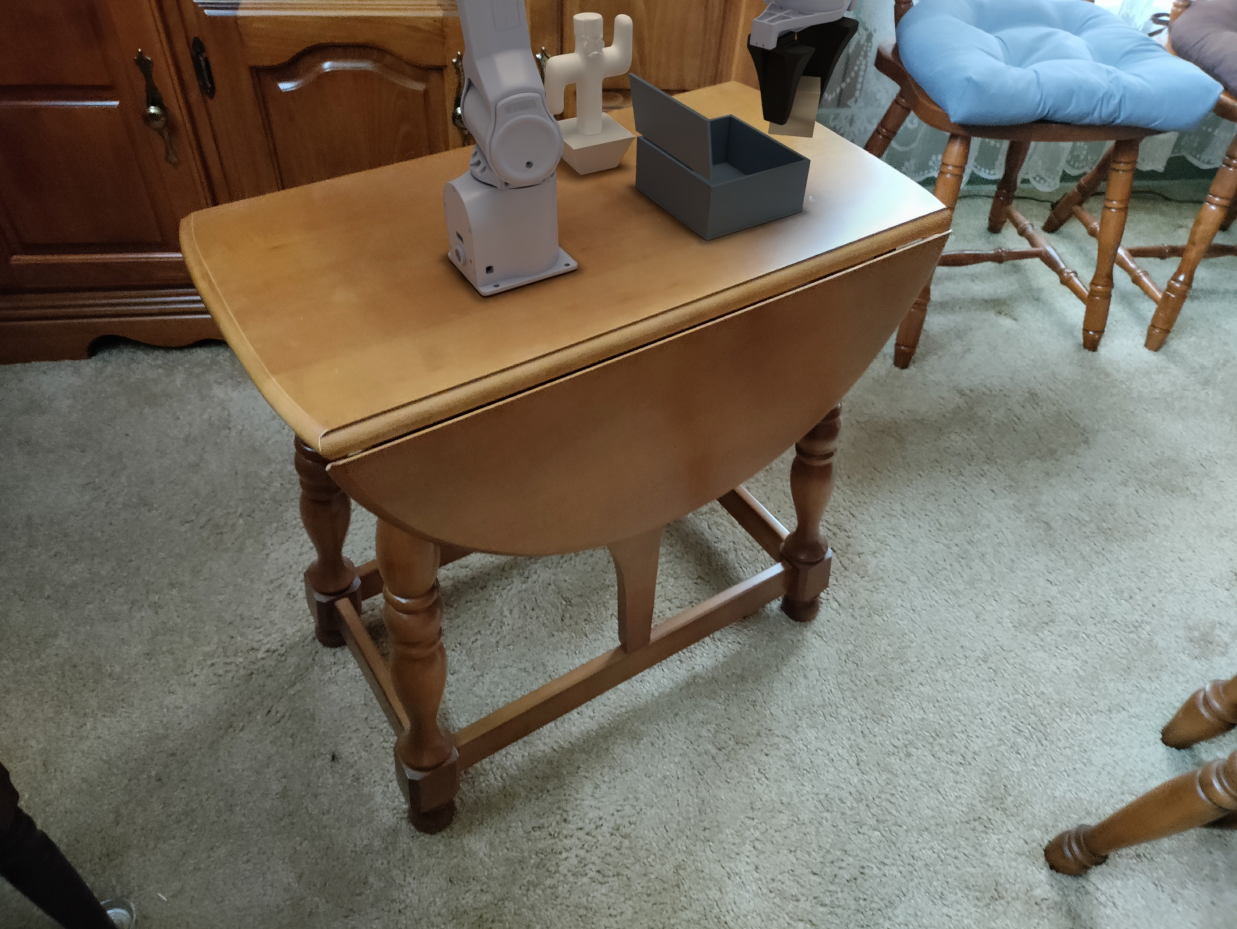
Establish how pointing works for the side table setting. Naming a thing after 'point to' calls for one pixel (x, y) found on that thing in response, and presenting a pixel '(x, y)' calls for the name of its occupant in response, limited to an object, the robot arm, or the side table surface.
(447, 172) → the side table surface
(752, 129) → the carton
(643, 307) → the side table surface
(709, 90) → the side table surface
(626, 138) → the figurine
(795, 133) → the block
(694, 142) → the flap
